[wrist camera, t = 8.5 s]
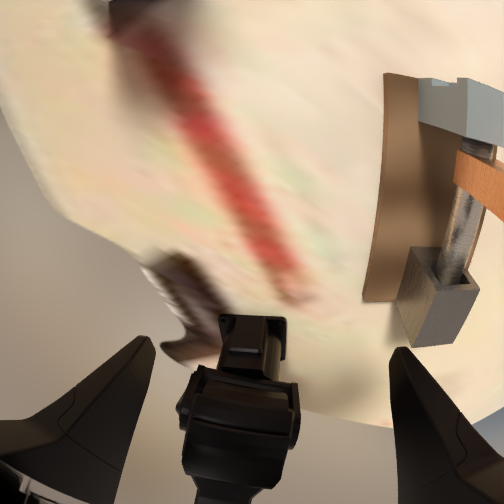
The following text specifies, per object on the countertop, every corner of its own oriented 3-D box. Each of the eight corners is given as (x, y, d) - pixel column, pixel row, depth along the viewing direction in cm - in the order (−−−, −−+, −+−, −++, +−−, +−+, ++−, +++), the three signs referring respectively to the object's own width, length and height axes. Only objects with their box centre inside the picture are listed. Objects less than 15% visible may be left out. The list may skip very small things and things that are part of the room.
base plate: (452, 291, 22) (456, 297, 21) (362, 293, 23) (364, 301, 22) (492, 102, 12) (499, 103, 12) (383, 73, 14) (388, 72, 13)
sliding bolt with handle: (450, 287, 18) (495, 379, 10) (417, 288, 18) (457, 389, 11) (487, 105, 10) (593, 141, 3) (450, 93, 11) (563, 118, 3)
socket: (479, 134, 13) (530, 157, 8) (417, 121, 14) (465, 137, 9) (480, 96, 12) (534, 107, 7) (418, 78, 13) (467, 77, 8)
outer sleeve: (432, 298, 21) (452, 343, 17) (395, 300, 22) (411, 348, 17) (450, 247, 19) (480, 288, 14) (410, 246, 19) (436, 291, 14)
